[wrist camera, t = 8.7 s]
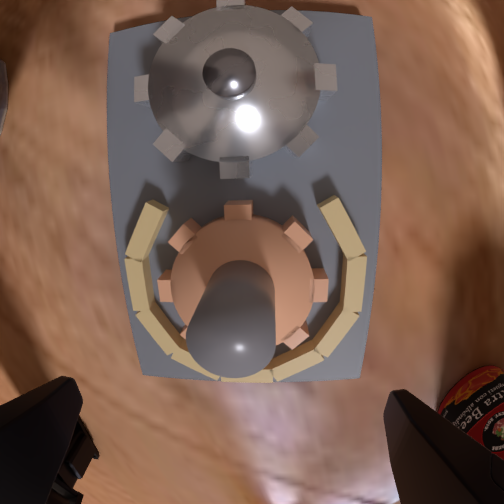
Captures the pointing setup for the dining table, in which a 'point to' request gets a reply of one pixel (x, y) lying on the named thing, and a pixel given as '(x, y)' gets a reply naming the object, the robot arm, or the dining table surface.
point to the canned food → (479, 407)
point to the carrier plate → (255, 204)
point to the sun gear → (235, 86)
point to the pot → (3, 93)
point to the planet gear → (242, 288)
